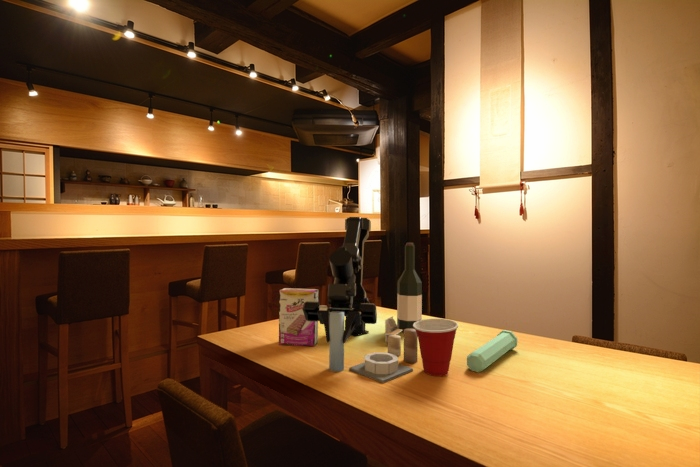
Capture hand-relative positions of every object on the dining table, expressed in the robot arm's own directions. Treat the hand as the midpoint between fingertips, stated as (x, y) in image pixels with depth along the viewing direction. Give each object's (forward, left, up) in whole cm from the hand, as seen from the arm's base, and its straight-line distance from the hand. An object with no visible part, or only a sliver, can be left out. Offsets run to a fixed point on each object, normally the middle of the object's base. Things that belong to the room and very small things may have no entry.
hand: (335, 342), depth 93 cm
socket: (-9, +7, -7) cm, 13 cm away
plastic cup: (-18, +17, -7) cm, 25 cm away
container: (-37, +22, -8) cm, 43 cm away
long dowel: (-1, -1, -7) cm, 7 cm away
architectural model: (-30, -7, -8) cm, 32 cm away
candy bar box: (-7, -24, -7) cm, 26 cm away
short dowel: (-20, +2, -7) cm, 21 cm away
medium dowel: (-20, +8, -7) cm, 22 cm away
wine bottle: (-44, -11, -7) cm, 46 cm away
